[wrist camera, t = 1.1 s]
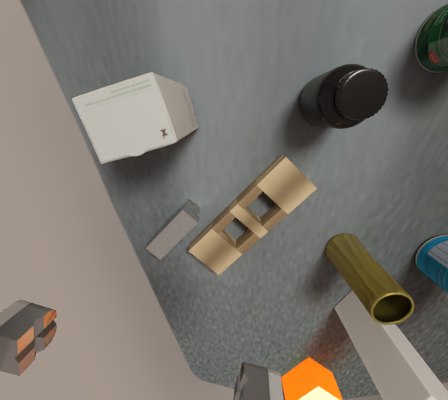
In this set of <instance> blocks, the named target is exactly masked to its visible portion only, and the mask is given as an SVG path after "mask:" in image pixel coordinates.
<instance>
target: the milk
mask: <svg viewBox="0 0 448 400" xmlns="http://www.w3.org/2000/svg"><path fill="white" fill-rule="evenodd" d="M334 308H335V310H336V312H337V314H338V316H339V318H340V320H341V322H342V323H343V325H344V327H345V329H346V331H347V333H348V335H349V337H350V339H351V341H352V342H353V344H354V346H355V348H356V350H357V352H358V354H359V356H360V358H361V359H362V361H363V363H364V365H365V367H366V369H367V371H368V373H369V375H370V376H371V378H372V380H373V382H374V384H375V386H376V388H377V390H378V392H379V393H380V395H381V397H382V399H383V400H448V391H447V390H446V389H445V388H444V386H443V385H442V384H441V382H440V381H439V380H438V378H437V377H436V376H435V375H434V373H433V372H432V371H431V369H430V368H429V367H428V366H427V364H426V363H425V362H424V360H423V359H422V358H421V357H420V355H419V354H418V353H417V351H416V350H415V349H414V348H413V346H412V345H411V344H410V342H409V341H408V340H407V338H406V337H405V336H404V335H403V333H402V332H401V331H400V329H399V328H398V327H397V326H396V324H393V325H383V324H380V323H378V322H376V321H375V320H374V319H373V318H372V317H371V316H370V314H369V313H368V312H367V310H366V309H365V307H364V306H363V304H362V303H361V301H360V300H359V298H358V297H357V296H356V294H355V293H354V292H353V290H352V291H351V292H350V293H349V294H347V295H346V296H345V297H344V298H343V299H342V300H341V301H340V302H339V303H338V304H337V305H336V306H335V307H334Z"/></svg>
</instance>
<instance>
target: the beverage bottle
mask: <svg viewBox="0 0 448 400" xmlns="http://www.w3.org/2000/svg"><path fill="white" fill-rule="evenodd" d="M415 260H416V265H417V267H418V268H419V269H420V271H422V272H423V273H424V274H425V275H427V276H428V277H430V278H431V279H432V280H433V281H434V282H435V283H437V284H438V285H439V286H440V287H441V288H443V289H444V290H445V291H446V292H447V293H448V235H441V236H437V237H434V238H431V239H429V240H428V241H426V242H425V243H424V244H423V245H422V246H421V247H420V248H419V250H418V251H417V254H416V258H415Z"/></svg>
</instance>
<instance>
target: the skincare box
mask: <svg viewBox="0 0 448 400" xmlns="http://www.w3.org/2000/svg"><path fill="white" fill-rule="evenodd" d="M72 101H73V103H74V105H75V107H76V109H77V112H78V114H79V116H80V118H81V121H82V123H83V125H84V127H85V130H86V132H87V134H88V136H89V138H90V141H91V143H92V145H93V147H94V150H95V152H96V154H97V156H98V158H99V161H100V163H101V164H104V163H107V162H111V161H115V160H119V159H122V158H126V157H130V156H139V155H142V154H143V153H145V152H147V151H151V150H154V149H158V148H161V147H165V146H168V145H171V144H174V143H176V142H177V141H179V140H180V139H182V138H184V137H185V136H187V135H188V134H190V133H191V132H193V131H195V130H196V129H198V128H199V126H198V122H197V118H196V115H195V111H194V108H193V105H192V101H191V98H190V95H189V91H188V88H187V86H186V85H183V84H180V83H178V82H175V81H173V80H170V79H167V78H165V77H162V76H160V75H157V74H155V73H153V72H150V73H147V74H144V75H141V76H138V77H135V78H132V79H128V80H125V81H122V82H119V83H116V84H113V85H110V86H107V87H104V88H101V89H98V90H95V91H92V92H89V93H86V94H83V95H80V96H77V97H75V98H72Z"/></svg>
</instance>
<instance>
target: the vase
mask: <svg viewBox="0 0 448 400" xmlns="http://www.w3.org/2000/svg"><path fill="white" fill-rule="evenodd" d="M326 256H327V257H328V259H329V260H330V261H331V262H332V263H333V264H334V265H335V267H336V268H337V270H338V271H339V273H340V274H341V275H342V277H343V278H344V279H345V281H346V282H347V284H348V285H349V286H350V288H351V289H352V290H353V292H354V293H355V294H356V296H357V297H358V298H359V300H360V301H361V303H362V304H363V306H364V307H365V309H366V310H367V312H368V313H369V314H370V316H371V317H372V318H373V319H374V320H375V321H376V322H378V323H380V324H383V325H393V324H398V323H400V322H403V321H404V320H406V319H407V318H408V317H409V316H410V315H411V314H412V313H413V310H414V302H413V300H412V298H411V297H410V295H409V294H408V293H407V292H406V291H405V290H404V289H403V288H402V287H401V286H400V285H399V284H398V283H397V282H396V281H395V280H394V279H393V278H392V277H391V276H390V275H389V274H388V273H387V272H386V271H385V270H384V269H383V268H382V267H381V266H380V265H379V264H378V263H377V262H376V261H375V260H374V259H373V258H372V257H371V255H370V254H369V253H368V252H367V250H366V249H365V248H364V246H363V245H362V244H361V243H360V241H359V240H358V238H356V237H355V236H353V235H351V234H340V235H337V236H335V237H334V238H332V239H331V240H330V241H329V242H328V244H327V246H326Z"/></svg>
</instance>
